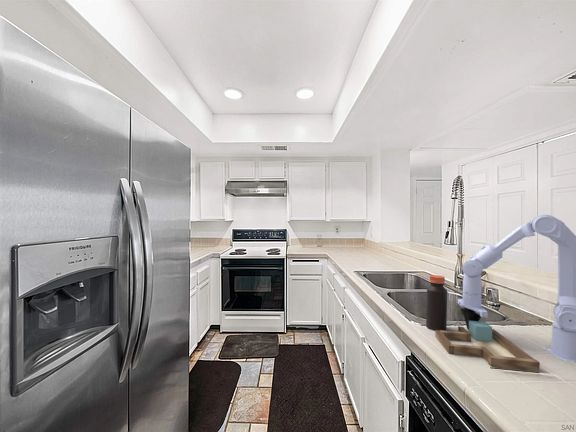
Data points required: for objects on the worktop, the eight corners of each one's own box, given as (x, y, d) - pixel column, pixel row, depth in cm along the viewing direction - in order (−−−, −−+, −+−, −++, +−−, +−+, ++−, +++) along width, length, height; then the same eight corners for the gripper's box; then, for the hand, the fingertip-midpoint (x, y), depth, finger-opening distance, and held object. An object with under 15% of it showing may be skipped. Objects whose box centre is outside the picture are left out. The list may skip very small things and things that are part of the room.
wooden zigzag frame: (494, 337, 100) (494, 329, 100) (539, 373, 77) (539, 362, 77) (430, 332, 103) (430, 324, 103) (456, 365, 81) (456, 354, 81)
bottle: (448, 329, 106) (449, 276, 106) (443, 334, 101) (444, 279, 101) (429, 324, 111) (430, 273, 111) (423, 329, 106) (424, 276, 106)
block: (484, 335, 100) (484, 321, 100) (491, 342, 95) (492, 327, 95) (468, 334, 101) (469, 320, 100) (475, 340, 96) (475, 326, 96)
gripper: (450, 287, 110) (449, 322, 110) (473, 298, 95) (472, 338, 96) (468, 287, 110) (467, 322, 110) (494, 298, 95) (493, 339, 95)
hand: (471, 330), depth 103 cm, fingers closed
